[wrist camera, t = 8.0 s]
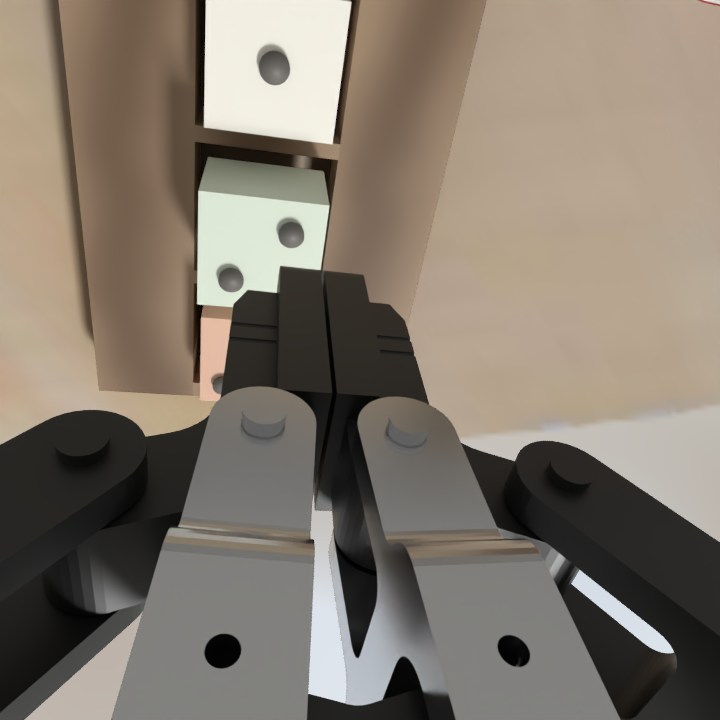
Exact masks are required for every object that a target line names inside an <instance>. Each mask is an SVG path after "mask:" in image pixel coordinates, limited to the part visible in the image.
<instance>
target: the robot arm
mask: <svg viewBox="0 0 720 720" xmlns="http://www.w3.org/2000/svg"><path fill="white" fill-rule="evenodd" d="M313 495H314V502H315V510H320V511H332V513H333V526H334V528H333V533H332V538H331V542H330V547H329V561H330V568H331V574H332V581H333V588H334V594H335V601H336V607H337V613H338V621H339V627H340V633H341V640H342V646H343V653H344V660H345V667H346V681H347V690H346V704H345V703H341V702H337V701H333V700H330V699H326V698H322V697H318V696H314V695H311V694H308V685H309V663H310V642H311V621H312V598H313V579H314V578H313V577H314V553H315V552H314V550H315V548H314V540H313V539H310V531H311V514H312V500H313ZM579 570H581V571H582V572H583V573H585V574H586V575H587V576H589V577H590V578H591V579H592V580H594V581H595V582H596V583H597V584H599V585H600V586H601V587H602V588H604V589H605V590H606V591H607V592H609V593H610V594H611V595H612V596H614V597H615V598H616V599H617V600H619V601H620V602H621V603H622V604H624V605H625V606H626V607H627V608H629V609H630V610H631V611H633V612H634V613H635V614H636V615H637V616H639V617H640V618H641V619H642V620H644V621H645V622H646V623H648V624H649V625H650V626H651V627H653V628H654V629H655V630H656V631H658V632H659V633H660V634H661V635H662V636H663V637H664V638H665V639H666V640H667V641H668V643H669V644H670V645H671V647H672V648H673V650H674V652H675V653H671V654H666V653H661V652H658V651H655V650H653V649H651V648H649V647H648V646H647V645H645V644H644V643H642V642H641V641H640V640H639V639H638V638H636V637H635V636H634V635H633V634H632V633H630V632H629V631H628V630H627V629H625V628H624V627H623V626H622V625H620V624H619V623H618V622H617V621H616V620H614V619H613V618H612V617H611V616H609V615H608V614H607V613H606V612H605V611H603V610H602V609H601V608H600V607H599V606H597V605H596V604H595V603H594V602H592V601H591V600H590V599H589V598H588V597H586V596H585V595H584V594H583V593H581V592H580V591H579V590H578V589H577V588H575V587H574V586H573V585H572V584H571V583H572V581H573V580H574V578H575V576H576V575H577V573H578V571H579ZM142 611H143V613H142V616H141V620H140V623H139V627H138V630H137V633H136V637H135V640H134V643H133V647H132V650H131V654H130V657H129V661H128V664H127V667H126V671H125V674H124V678H123V681H122V684H121V688H120V691H119V695H118V698H117V701H116V705H115V708H114V712H113V715H112V719H111V720H720V542H718V541H717V540H715V539H713V538H712V537H711V536H709V535H708V534H706V533H705V532H704V531H702V530H700V529H699V528H697V527H696V526H695V525H693V524H692V523H690V522H689V521H687V520H686V519H684V518H683V517H681V516H680V515H678V514H677V513H675V512H674V511H672V510H671V509H669V508H668V507H667V506H665V505H664V504H662V503H661V502H659V501H658V500H656V499H655V498H653V497H652V496H650V495H649V494H647V493H646V492H644V491H643V490H641V489H640V488H638V487H637V486H635V485H634V484H633V483H631V482H629V481H628V480H627V479H625V478H624V477H622V476H621V475H619V474H618V473H616V472H615V471H613V470H612V469H610V468H609V467H607V466H606V465H604V464H603V463H601V462H600V461H598V460H597V459H596V458H594V457H592V456H591V455H589V454H588V453H586V452H584V451H582V450H580V449H578V448H576V447H573V446H571V445H568V444H563V443H560V442H554V441H539V442H534V443H530V444H529V445H527V446H525V447H524V448H523V449H522V450H520V452H519V454H518V456H517V458H516V460H515V461H512V460H508V459H505V458H501V457H498V456H495V455H491V454H488V453H485V452H482V451H479V450H476V449H473V448H470V447H468V446H466V445H464V444H462V443H461V442H460V440H459V437H458V435H457V433H456V430H455V428H454V427H453V425H452V423H451V422H450V421H449V419H448V418H447V417H446V416H445V415H444V414H443V413H441V412H440V411H439V410H437V409H436V408H434V407H432V406H430V405H429V402H428V399H427V395H426V392H425V388H424V385H423V381H422V378H421V375H420V371H419V368H418V364H417V361H416V357H415V356H414V350H413V347H412V343H411V342H410V336H409V333H408V330H407V326H406V323H405V320H404V319H403V318H402V317H401V316H400V315H399V314H398V313H397V312H396V311H395V310H394V309H393V307H392V306H391V305H390V304H383V303H373V302H370V301H369V297H368V292H367V287H366V283H365V278H364V275H362V274H353V273H344V272H335V271H326V270H323V272H322V275H321V270H315V269H306V268H297V267H288V266H280V269H279V276H278V285H277V293H274V292H264V291H254V290H247V291H246V292H245V293H244V294H243V295H242V296H241V297H240V298H239V299H238V300H237V301H236V302H235V303H234V304H233V312H232V319H231V326H230V333H229V340H228V348H227V355H226V362H225V369H224V376H223V383H222V391H221V397H220V399H219V400H218V401H217V402H216V403H215V405H214V406H213V407H212V410H211V412H210V415H209V416H208V417H207V418H206V419H204V420H202V421H201V422H199V423H198V424H195V425H193V426H191V427H189V428H186V429H183V430H180V431H176V432H171V433H166V434H160V435H154V436H148V437H145V435H144V433H143V431H142V430H141V429H140V427H139V426H138V425H137V424H136V423H134V422H133V421H132V420H130V419H128V418H127V417H125V416H122V415H119V414H117V413H113V412H108V411H101V410H83V411H74V412H70V413H65V414H62V415H59V416H56V417H53V418H51V419H49V420H47V421H44V422H43V423H41V424H39V425H37V426H35V427H33V428H31V429H29V430H27V431H26V432H24V433H22V434H20V435H18V436H16V437H14V438H12V439H10V440H9V441H7V442H5V443H3V444H1V445H0V720H24V719H25V718H26V717H28V716H29V715H30V714H31V713H32V712H33V711H34V710H35V709H36V708H38V707H39V706H40V705H41V704H42V703H43V702H44V701H45V700H46V699H48V698H49V697H50V696H51V695H52V694H53V693H54V692H55V691H56V690H57V689H59V688H60V687H61V686H62V685H63V684H64V683H65V682H66V681H68V680H69V679H70V678H71V677H72V676H73V675H74V674H75V673H76V672H78V671H79V670H80V669H81V668H82V667H83V666H84V665H85V664H86V663H88V661H90V660H91V659H92V658H93V657H94V656H95V655H96V654H97V653H99V652H100V651H101V650H102V649H103V648H104V647H105V646H106V645H107V644H108V643H110V642H111V641H112V640H113V639H114V638H115V637H116V636H117V635H119V634H120V633H121V632H122V631H123V630H124V629H125V628H126V627H127V626H129V625H130V624H131V623H132V622H133V621H134V620H135V619H136V618H137V617H138V616H139V615H140V614H141V612H142Z"/></svg>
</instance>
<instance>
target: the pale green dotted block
mask: <svg viewBox="0 0 720 720" xmlns="http://www.w3.org/2000/svg"><path fill="white" fill-rule="evenodd" d="M329 206H330V205H329V200H328V194H327V188H326V182H325V176H324V171H318V170H310V169H302V168H294V167H286V166H278V165H270V164H262V163H254V162H246V161H238V160H230V159H222V158H214V157H208V159H207V163H206V166H205V169H204V173H203V176H202V180H201V183H200V187H199V190H198V270H197V304H199V305H211V306H223V307H233V304H234V303H235V302H236V301H237V300H238V299H239V298H240V297H241V296H242V295H243V294H244V293H245V292H246V291H247V290H254V291H264V292H274V293H277V285H278V276H279V269H280V266H288V267H297V268H306V269H315V270H321V264H322V256H323V249H324V242H325V235H326V228H327V220H328V213H329Z"/></svg>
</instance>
